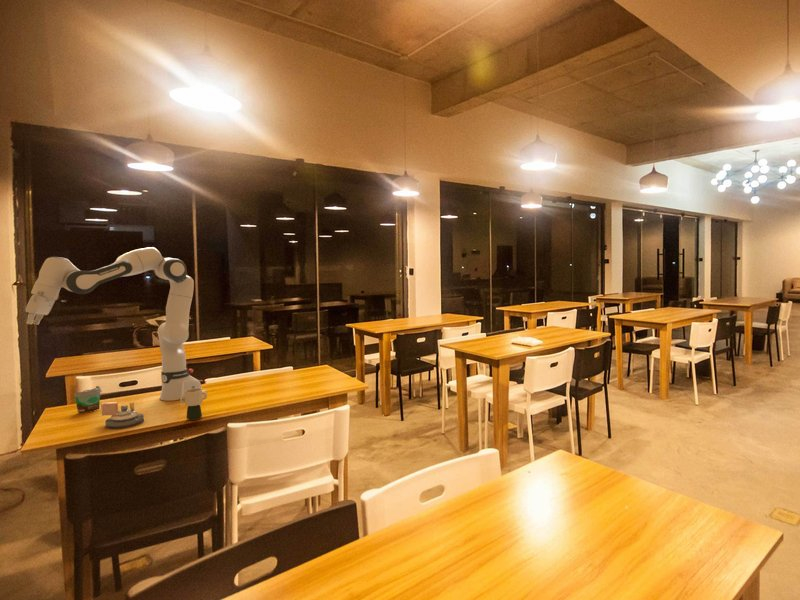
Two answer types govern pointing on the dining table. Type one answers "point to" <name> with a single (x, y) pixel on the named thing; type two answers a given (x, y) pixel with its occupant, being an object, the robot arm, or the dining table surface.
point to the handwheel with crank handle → (125, 424)
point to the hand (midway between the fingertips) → (32, 324)
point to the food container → (88, 400)
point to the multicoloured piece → (117, 412)
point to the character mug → (193, 402)
